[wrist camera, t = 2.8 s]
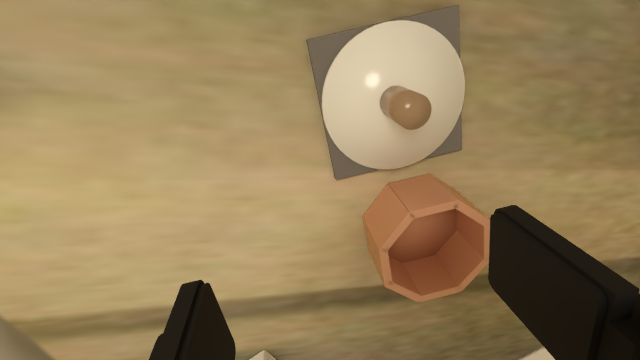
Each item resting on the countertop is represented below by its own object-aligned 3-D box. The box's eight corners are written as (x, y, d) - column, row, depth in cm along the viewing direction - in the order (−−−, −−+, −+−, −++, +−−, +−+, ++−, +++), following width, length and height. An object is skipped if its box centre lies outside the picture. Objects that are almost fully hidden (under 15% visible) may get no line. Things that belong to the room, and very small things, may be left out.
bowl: (458, 166, 34) (493, 191, 29) (460, 249, 39) (491, 284, 33) (358, 190, 34) (374, 220, 28) (372, 271, 38) (388, 310, 33)
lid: (458, 5, 27) (497, -1, 23) (461, 149, 33) (493, 168, 28) (307, 39, 27) (314, 40, 22) (335, 179, 32) (345, 204, 28)
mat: (455, 5, 28) (458, 5, 27) (458, 147, 33) (461, 149, 33) (306, 39, 27) (307, 39, 27) (334, 177, 33) (335, 180, 32)
